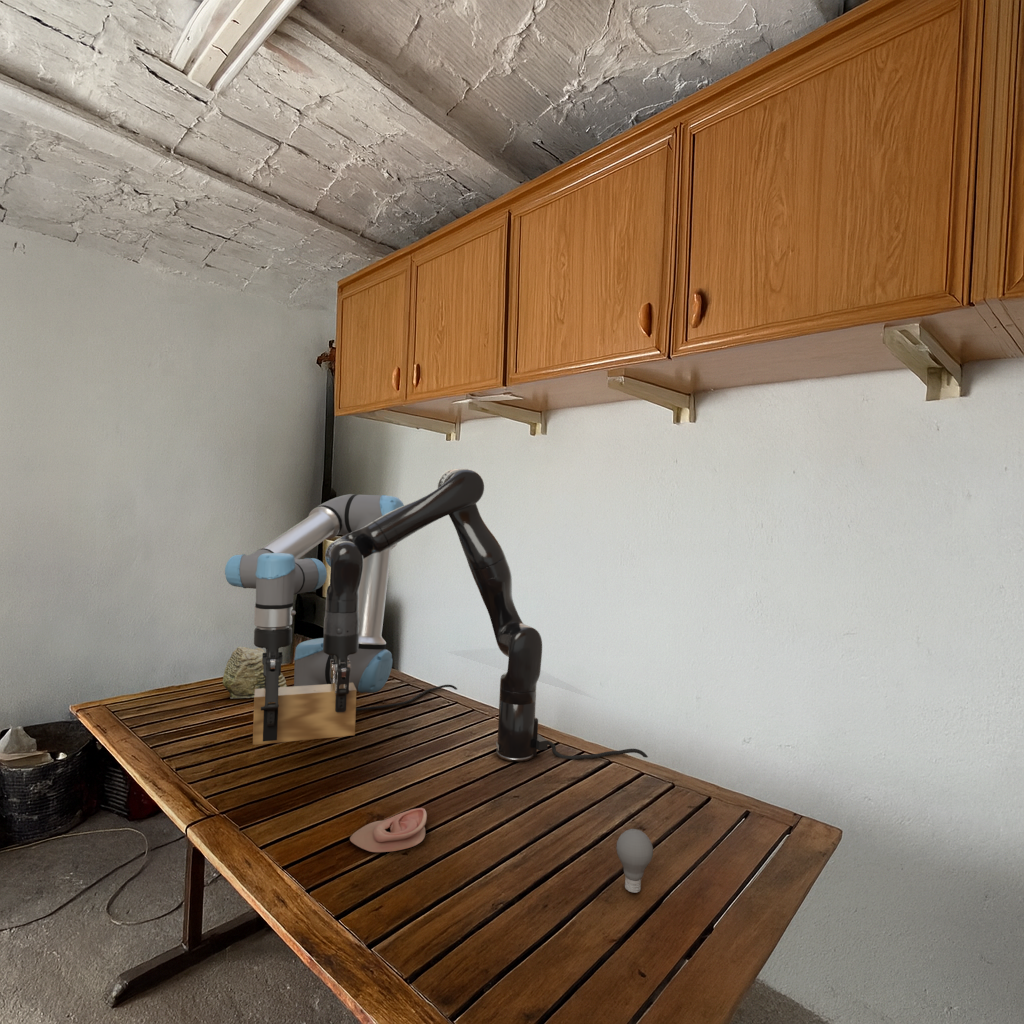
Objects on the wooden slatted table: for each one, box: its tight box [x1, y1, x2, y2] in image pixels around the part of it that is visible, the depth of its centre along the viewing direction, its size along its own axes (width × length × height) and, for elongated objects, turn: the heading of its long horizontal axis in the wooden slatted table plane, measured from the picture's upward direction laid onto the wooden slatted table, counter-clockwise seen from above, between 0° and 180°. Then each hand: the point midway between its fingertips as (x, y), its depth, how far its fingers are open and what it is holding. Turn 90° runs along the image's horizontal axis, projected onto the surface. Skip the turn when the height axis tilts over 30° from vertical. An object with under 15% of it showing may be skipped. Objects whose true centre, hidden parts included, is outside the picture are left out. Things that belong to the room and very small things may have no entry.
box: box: [252, 683, 358, 746], centre depth 137 cm, size 21×6×10 cm, turn 111°
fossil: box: [222, 646, 288, 699], centre depth 198 cm, size 9×18×15 cm, turn 132°
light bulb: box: [615, 828, 654, 894], centre depth 106 cm, size 6×6×10 cm
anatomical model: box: [349, 807, 428, 853], centre depth 119 cm, size 13×4×12 cm
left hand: (269, 730), depth 134 cm, fingers open, 10 cm apart
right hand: (338, 706), depth 139 cm, fingers closed on box, 5 cm apart
